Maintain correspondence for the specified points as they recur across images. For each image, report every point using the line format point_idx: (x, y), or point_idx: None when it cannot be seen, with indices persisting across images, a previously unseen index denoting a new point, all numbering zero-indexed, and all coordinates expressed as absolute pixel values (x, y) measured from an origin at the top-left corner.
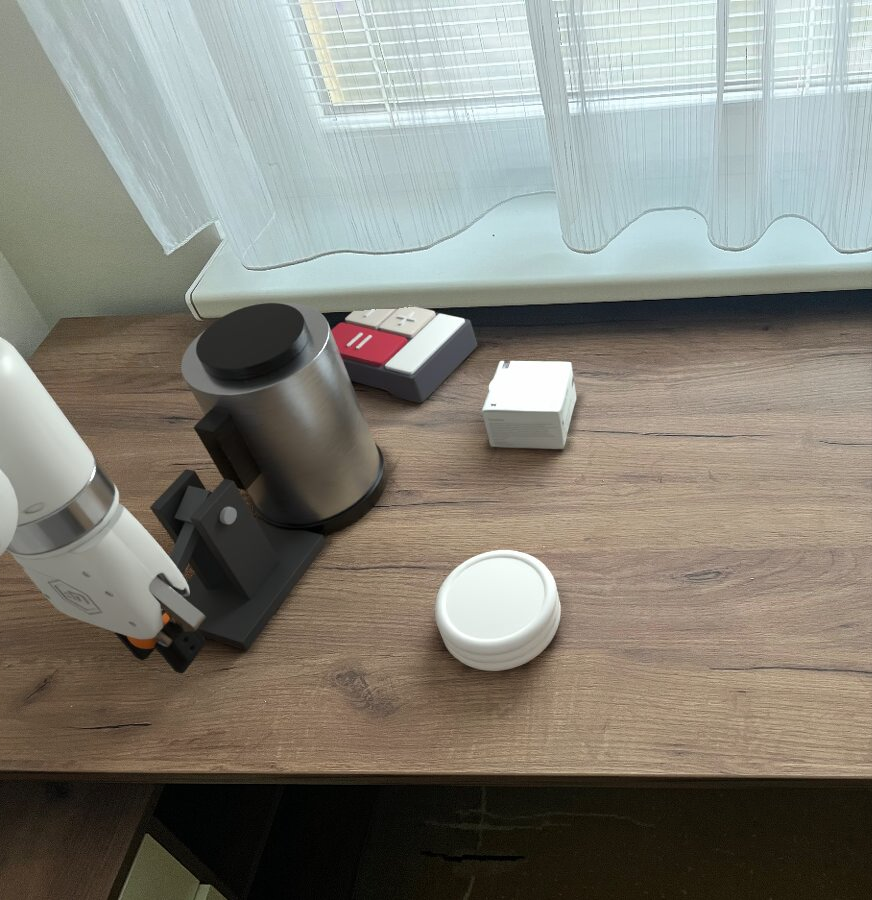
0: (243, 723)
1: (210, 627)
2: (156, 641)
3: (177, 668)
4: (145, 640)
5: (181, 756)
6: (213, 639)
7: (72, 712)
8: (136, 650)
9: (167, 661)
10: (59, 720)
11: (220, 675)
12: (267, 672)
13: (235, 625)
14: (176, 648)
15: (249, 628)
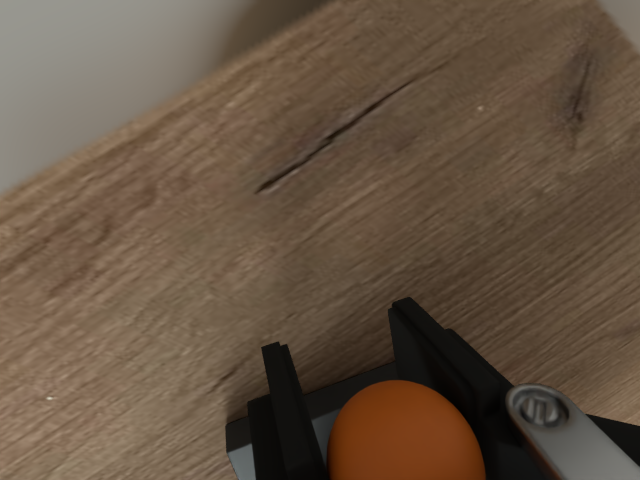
0: (32, 336)
1: (329, 422)
2: (332, 456)
3: (265, 364)
4: (359, 458)
5: (83, 182)
6: (316, 391)
7: (466, 97)
8: (412, 333)
9: (283, 384)
10: (479, 63)
11: (223, 361)
12: (128, 430)
13: None
14: (266, 456)
15: (243, 477)
